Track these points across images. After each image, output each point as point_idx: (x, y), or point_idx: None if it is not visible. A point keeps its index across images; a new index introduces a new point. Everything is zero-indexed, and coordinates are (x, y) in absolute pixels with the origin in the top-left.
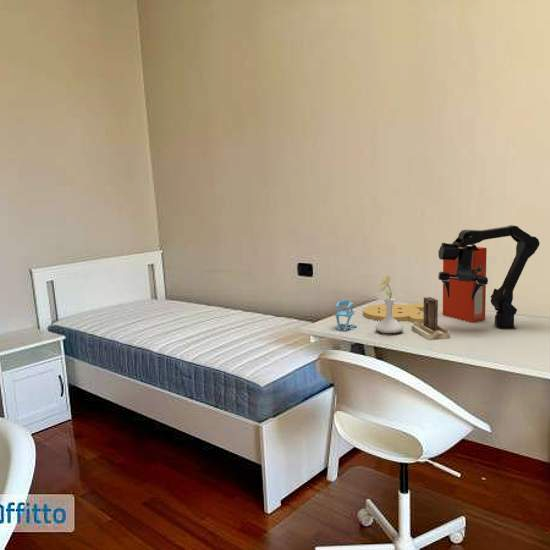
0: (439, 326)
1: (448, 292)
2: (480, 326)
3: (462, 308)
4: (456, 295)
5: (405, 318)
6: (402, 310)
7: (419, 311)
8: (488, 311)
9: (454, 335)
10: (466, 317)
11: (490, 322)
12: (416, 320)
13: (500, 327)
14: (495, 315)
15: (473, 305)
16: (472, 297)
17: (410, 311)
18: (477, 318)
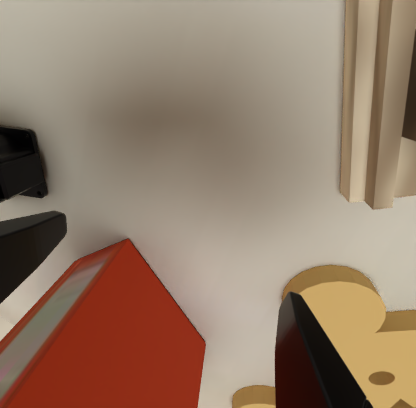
0: (398, 52)
1: (318, 343)
2: (107, 184)
3: (140, 316)
4: (141, 403)
5: (394, 322)
6: None
7: None
8: None
9: (288, 28)
10: (140, 272)
11: None
12: (370, 284)
13: (24, 130)
14: (5, 193)
15: (84, 296)
16: (37, 219)
17: None
18: (100, 255)
